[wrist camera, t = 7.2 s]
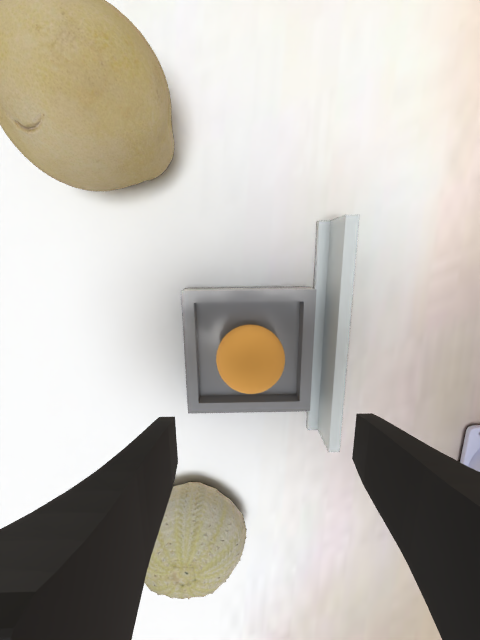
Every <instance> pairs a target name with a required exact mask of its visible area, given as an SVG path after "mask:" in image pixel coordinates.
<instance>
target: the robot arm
mask: <svg viewBox="0 0 480 640" xmlns="http://www.w3.org/2000/svg"><path fill="white" fill-rule="evenodd" d="M352 459H353V461H354V464H355V466H356V469H357V471H358V474H359V476H360V478H361V480H362V483H363V485H364V487H365V489H366V490H367V492H368V494H369V496H370V498H371V499H372V501H373V503H374V505H375V506H376V508H377V510H378V512H379V513H380V515H381V517H382V519H383V520H384V522H385V524H386V526H387V527H388V529H389V531H390V533H391V534H392V536H393V538H394V540H395V541H396V543H397V545H398V547H399V548H400V550H401V552H402V554H403V556H404V558H405V560H406V562H407V563H408V565H409V568H410V570H411V572H412V574H413V576H414V578H415V580H416V582H417V585H418V587H419V589H420V591H421V593H422V595H423V597H424V600H425V602H426V604H427V606H428V608H429V611H430V613H431V615H432V617H433V620H434V622H435V624H436V626H437V629H438V631H439V633H440V635H441V638H442V640H480V425H473V426H470V427H468V428H467V430H466V435H465V440H464V445H463V450H462V455H461V460H460V462H458V461H456V460H454V459H452V458H451V457H449V456H447V455H445V454H443V453H441V452H439V451H437V450H436V449H434V448H432V447H430V446H428V445H427V444H425V443H423V442H421V441H420V440H418V439H416V438H415V437H413V436H411V435H409V434H408V433H406V432H404V431H403V430H401V429H399V428H397V427H396V426H394V425H392V424H391V423H389V422H387V421H385V420H384V419H382V418H380V417H378V416H376V415H374V414H357V417H356V427H355V437H354V447H353V457H352ZM177 464H178V457H177V442H176V427H175V417H159V418H158V419H156V420H155V421H154V422H153V423H152V424H151V425H150V426H149V427H148V428H147V429H146V430H144V431H143V432H142V433H141V434H140V435H139V436H138V437H137V438H136V439H135V440H133V441H132V442H131V443H130V444H129V445H128V446H127V447H126V448H124V449H123V450H122V451H121V452H119V453H118V454H117V455H116V456H115V457H113V458H112V459H111V460H110V461H108V462H107V463H106V464H105V465H103V466H102V467H101V468H100V469H98V470H97V471H96V472H94V473H93V474H91V475H90V476H89V477H87V478H86V479H84V480H83V481H81V482H80V483H79V484H77V485H76V486H74V487H73V488H71V489H70V490H68V491H67V492H65V493H63V494H62V495H60V496H58V497H57V498H55V499H53V500H52V501H50V502H48V503H47V504H45V505H43V506H42V507H40V508H38V509H37V510H35V511H33V512H32V513H30V514H28V515H26V516H24V517H22V518H21V519H19V520H17V521H15V522H13V523H11V524H9V525H8V526H6V527H4V528H2V529H0V640H131V639H132V634H133V630H134V625H135V621H136V616H137V612H138V607H139V603H140V599H141V594H142V590H143V586H144V581H145V577H146V573H147V569H148V565H149V562H150V558H151V555H152V552H153V549H154V545H155V542H156V539H157V536H158V533H159V530H160V527H161V524H162V520H163V517H164V514H165V511H166V508H167V505H168V502H169V498H170V495H171V492H172V489H173V484H174V479H175V474H176V469H177Z"/></svg>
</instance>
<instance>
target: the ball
mask: <svg viewBox="0 0 480 640" xmlns="http://www.w3.org/2000/svg"><path fill="white" fill-rule="evenodd" d="M216 363H217V368H218V371H219V374H220V376H221V378H222V379H223V380H224V382H225V383H226V384H227V385H228V386H229V387H231V388H232V389H234V390H236V391H238V392H241V393H245V394H257V393H261V392H264V391H266V390H268V389H269V388H271V387H272V386H273V385H274V384H275V383H276V382H277V381H278V380H279V378H280V377H281V375H282V372H283V370H284V366H285V353H284V349H283V346H282V344H281V342H280V341H279V339H278V338H277V337H276V335H275V334H274V333H272V332H271V331H270V330H268V329H266V328H264V327H262V326H259V325H251V324H250V325H242V326H239V327H237V328H234V329H233V330H231V331H230V332H229V333H227V334H226V335H225V337H224V338H223V339H222V341H221V342H220V344H219V347H218V350H217V354H216Z"/></svg>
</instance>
